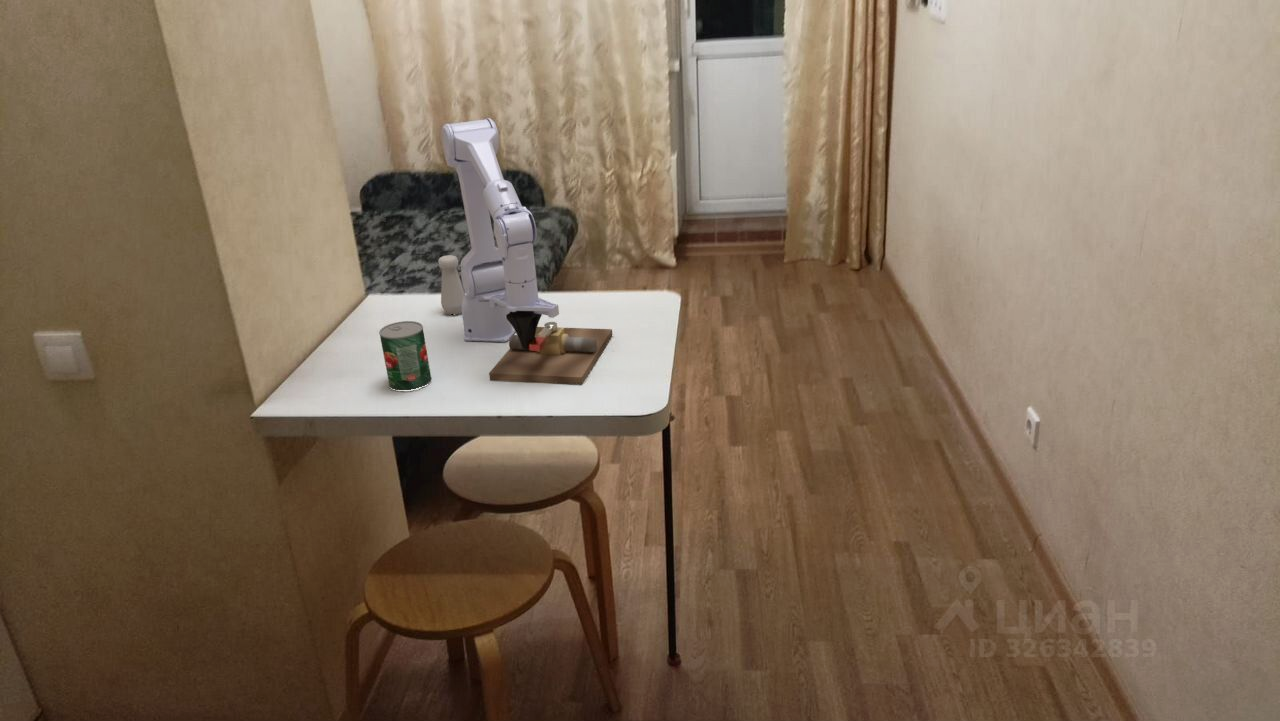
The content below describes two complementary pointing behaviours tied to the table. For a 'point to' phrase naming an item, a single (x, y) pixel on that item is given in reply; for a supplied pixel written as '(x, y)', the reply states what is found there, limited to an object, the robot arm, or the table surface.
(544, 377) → the valve board
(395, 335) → the canned tomato
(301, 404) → the table surface
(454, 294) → the salt shaker
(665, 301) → the table surface
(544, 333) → the valve lever
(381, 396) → the table surface
